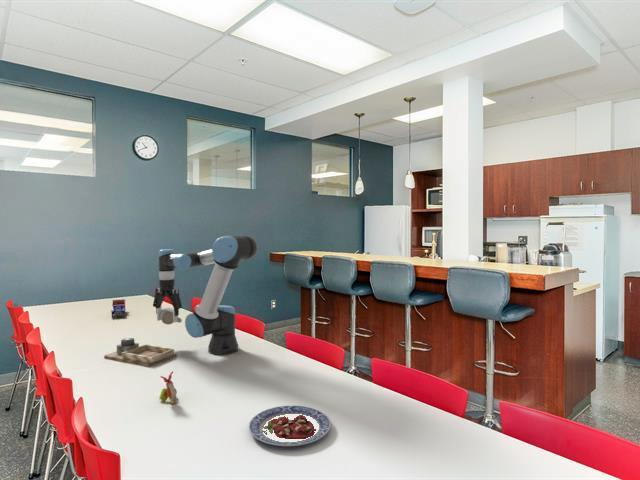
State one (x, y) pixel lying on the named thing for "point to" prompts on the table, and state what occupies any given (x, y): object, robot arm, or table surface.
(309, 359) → the table surface
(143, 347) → the board
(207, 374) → the table surface
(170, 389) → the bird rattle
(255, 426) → the ceramic plate
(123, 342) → the wheel
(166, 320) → the ceramic mug
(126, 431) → the table surface
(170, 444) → the table surface
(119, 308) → the toy truck
